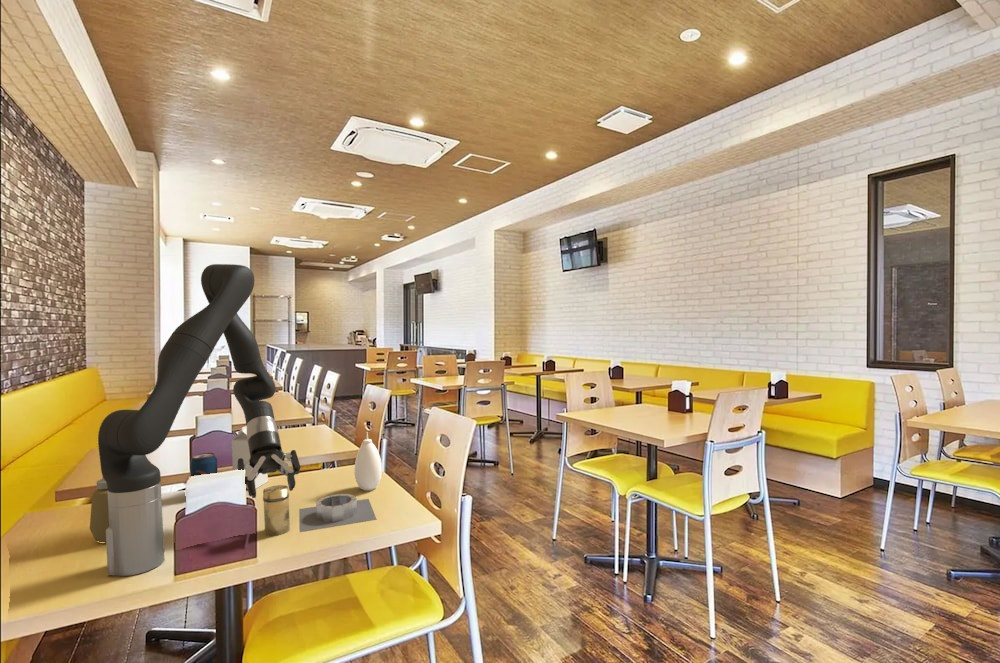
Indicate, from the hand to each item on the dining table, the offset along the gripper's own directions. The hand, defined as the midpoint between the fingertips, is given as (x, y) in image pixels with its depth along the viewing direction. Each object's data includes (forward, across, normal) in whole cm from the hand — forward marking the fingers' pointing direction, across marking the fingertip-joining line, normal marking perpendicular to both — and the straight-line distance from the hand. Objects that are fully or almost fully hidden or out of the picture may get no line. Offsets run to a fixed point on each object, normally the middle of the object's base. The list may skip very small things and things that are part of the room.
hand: (273, 492), depth 127 cm
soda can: (-21, -12, +34) cm, 42 cm away
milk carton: (-22, 0, +35) cm, 41 cm away
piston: (+9, 0, +4) cm, 10 cm away
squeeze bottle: (-6, -33, +19) cm, 39 cm away
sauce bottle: (-2, +28, +16) cm, 32 cm away
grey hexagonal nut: (+7, +15, +5) cm, 17 cm away
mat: (+8, +15, +5) cm, 17 cm away
